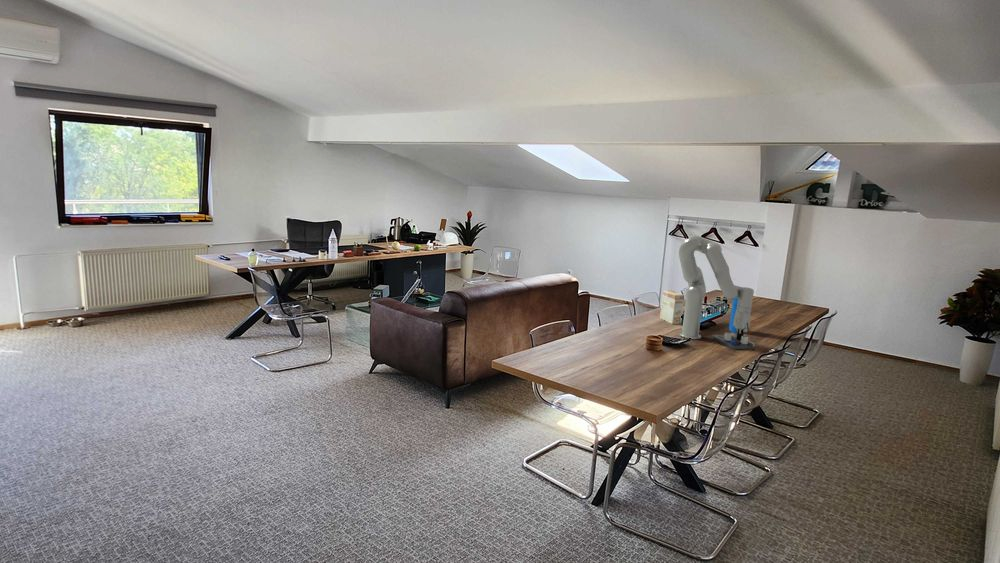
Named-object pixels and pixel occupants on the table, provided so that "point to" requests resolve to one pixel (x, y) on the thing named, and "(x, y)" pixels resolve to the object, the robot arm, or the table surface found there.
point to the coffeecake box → (671, 306)
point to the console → (733, 342)
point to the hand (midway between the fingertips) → (739, 339)
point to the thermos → (734, 308)
